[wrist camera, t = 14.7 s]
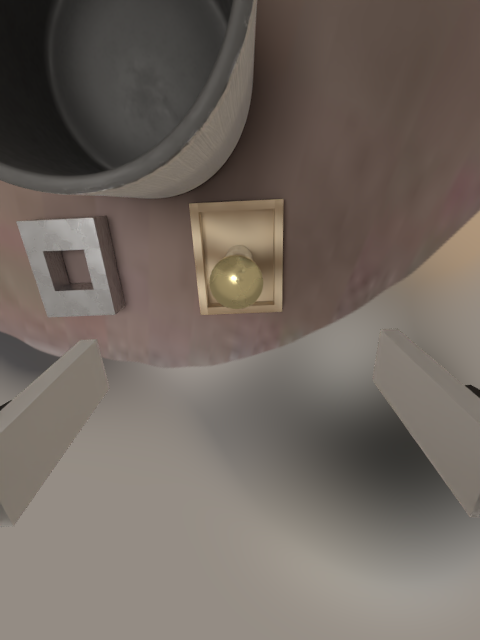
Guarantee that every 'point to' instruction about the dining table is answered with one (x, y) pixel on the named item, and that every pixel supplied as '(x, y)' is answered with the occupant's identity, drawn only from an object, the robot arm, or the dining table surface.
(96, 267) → the block
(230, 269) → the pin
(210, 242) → the tray
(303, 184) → the dining table surface
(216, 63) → the planter
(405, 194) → the dining table surface
